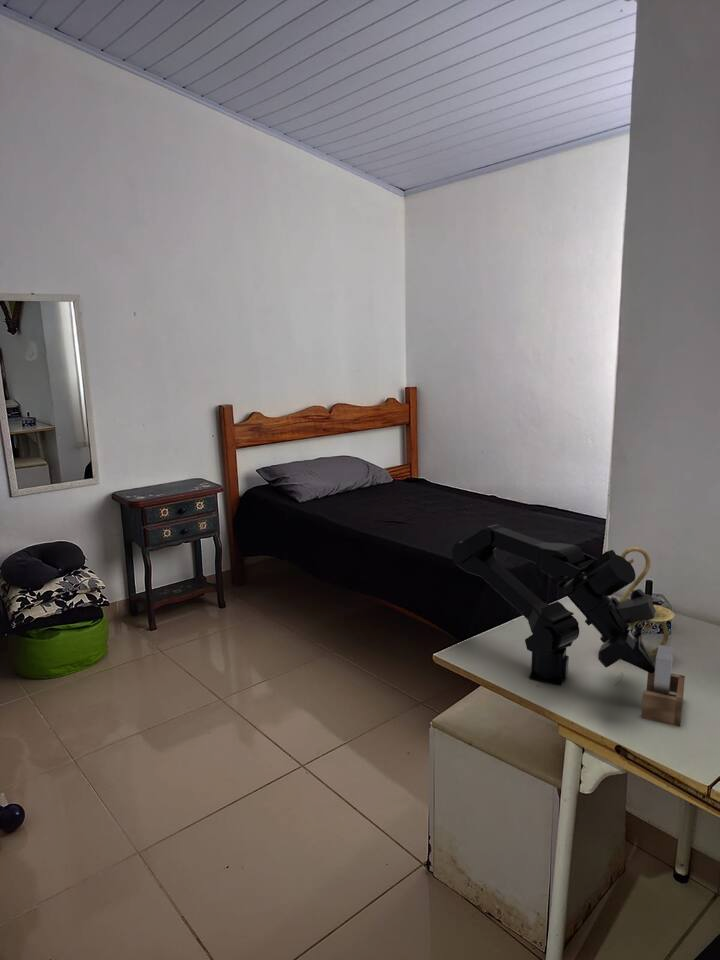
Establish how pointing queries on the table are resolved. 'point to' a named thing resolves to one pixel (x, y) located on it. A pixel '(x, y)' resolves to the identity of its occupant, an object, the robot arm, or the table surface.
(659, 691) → the angle bracket
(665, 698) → the walnut u-shaped bracket
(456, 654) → the table surface
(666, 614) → the wall sconce
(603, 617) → the robot arm
